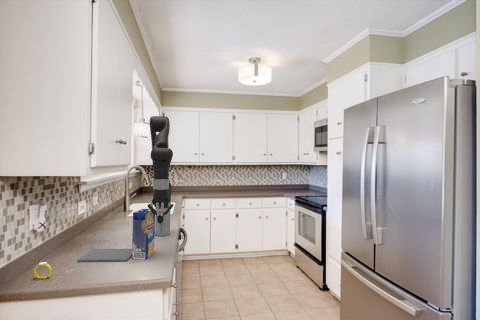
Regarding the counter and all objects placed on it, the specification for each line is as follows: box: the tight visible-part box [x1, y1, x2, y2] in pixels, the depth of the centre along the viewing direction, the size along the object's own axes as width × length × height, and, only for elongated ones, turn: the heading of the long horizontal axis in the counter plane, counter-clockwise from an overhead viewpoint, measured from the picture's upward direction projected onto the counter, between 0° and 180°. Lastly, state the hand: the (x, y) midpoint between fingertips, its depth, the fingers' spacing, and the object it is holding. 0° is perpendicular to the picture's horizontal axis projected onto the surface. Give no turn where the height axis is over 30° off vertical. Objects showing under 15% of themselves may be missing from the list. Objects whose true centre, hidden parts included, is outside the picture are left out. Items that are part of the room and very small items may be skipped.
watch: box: [33, 261, 53, 280], centre depth 110 cm, size 6×3×6 cm, turn 97°
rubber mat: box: [76, 248, 132, 263], centre depth 136 cm, size 16×22×1 cm
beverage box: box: [131, 208, 156, 261], centre depth 138 cm, size 7×11×22 cm, turn 178°
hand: (160, 223), depth 138 cm, fingers closed
